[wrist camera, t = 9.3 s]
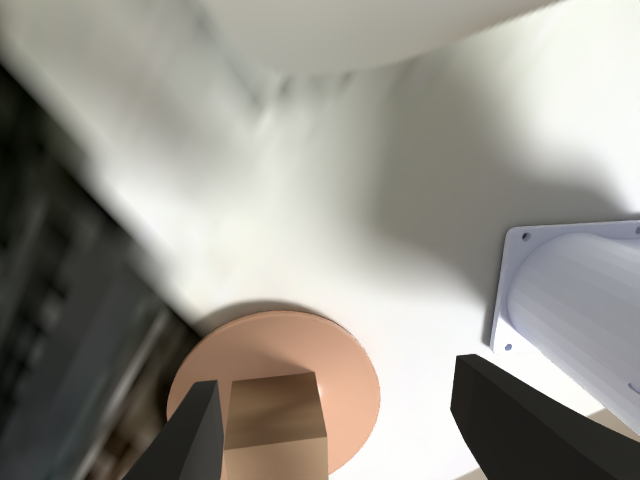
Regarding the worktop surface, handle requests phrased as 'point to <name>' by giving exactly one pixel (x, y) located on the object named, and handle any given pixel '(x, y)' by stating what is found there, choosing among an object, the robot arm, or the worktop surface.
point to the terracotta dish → (290, 371)
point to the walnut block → (276, 430)
